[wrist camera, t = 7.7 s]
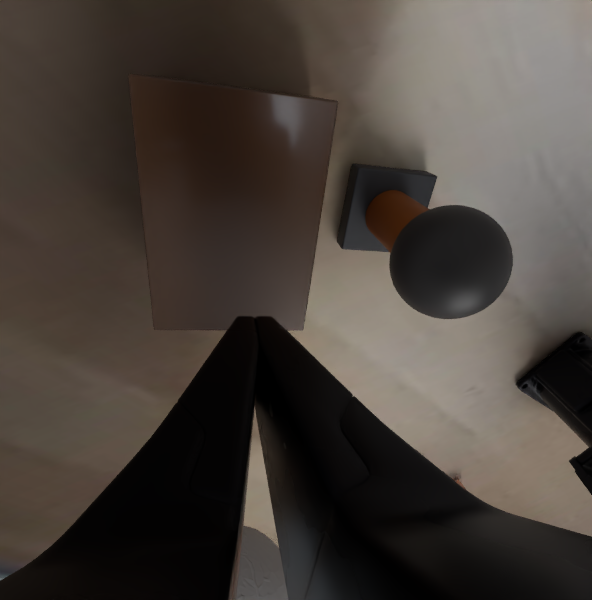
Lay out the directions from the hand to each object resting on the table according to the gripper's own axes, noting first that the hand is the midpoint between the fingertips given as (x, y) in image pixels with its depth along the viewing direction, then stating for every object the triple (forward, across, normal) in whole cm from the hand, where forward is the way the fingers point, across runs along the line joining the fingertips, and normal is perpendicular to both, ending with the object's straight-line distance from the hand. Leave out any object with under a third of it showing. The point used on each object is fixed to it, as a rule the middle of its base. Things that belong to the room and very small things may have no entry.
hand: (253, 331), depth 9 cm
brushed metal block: (+12, 0, 0) cm, 12 cm away
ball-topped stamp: (+12, -5, 0) cm, 13 cm away
